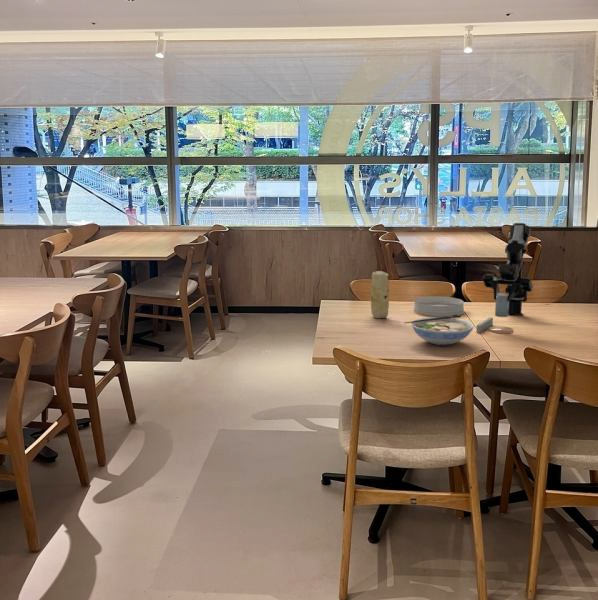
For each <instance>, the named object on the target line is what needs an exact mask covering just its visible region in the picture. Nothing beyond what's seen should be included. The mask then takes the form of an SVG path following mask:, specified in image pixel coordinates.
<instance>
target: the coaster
mask: <svg viewBox="0 0 598 600" xmlns="http://www.w3.org/2000/svg"><path fill="white" fill-rule="evenodd" d="M488 331H489V332H490V333H494V332H495V333H494V334H503V333H504V334H511V333H510V332H512V331H513V332H514V329H513V328H512V327H510V326H509V327H508V326H505V325H504V326H503V325H495V326H493V325H492V326H490V327H488ZM513 332H512V333H513Z"/></svg>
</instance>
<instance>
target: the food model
mask: <svg viewBox="0 0 598 600" xmlns="http://www.w3.org/2000/svg"><path fill="white" fill-rule="evenodd" d="M370 283H371V285H370V287H371V288H370V309H371V315H372V317H373V318H375V319H380V318H383V319H384V318H385V319H386V318H388V315H389V307H390V275H389V274H388V273H387V272H385V271H382V270H377V271H373V272H372V273H371V282H370Z"/></svg>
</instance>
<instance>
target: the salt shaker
mask: <svg viewBox="0 0 598 600" xmlns="http://www.w3.org/2000/svg"><path fill="white" fill-rule="evenodd" d="M508 296H509V293H505V291H503V292H500V291H499V293H497V295H496V300H495V311H494V316H495V317H498V318H507V317H509V315H508V311H509V301H508V300H507V299H508Z"/></svg>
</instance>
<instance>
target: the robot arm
mask: <svg viewBox="0 0 598 600" xmlns="http://www.w3.org/2000/svg"><path fill="white" fill-rule="evenodd" d="M530 235H531V227H530V226H529V225H527V224H526V223H525V222H515V223H513V224H512V225H510V227H509V237H510V239H509V240H508V241H507V242H508V243H507V244H506V245H505V248H504V253H506V259H507V260H506V263H499V264H498V265H499V266H498V271H497V272H498V273H499V274H498V275H499V278H498V277H496V276H495V275H494V274H488V273H486V274H484V275H483V277H482V281H483V284H484V286H485V287H486V288H488V289H489V288H491V289H492V290H493V301H494V300H495V301H496V295H497V293H499V292H500V290H501V288H500V286H499V285H503V286H506V287H505V289H504V292H505V293H509V296H508V299H507V300H508V301H509V311H508V316H525V314H524V313H523V312H522V310H523V308H522V307H523V303H525V302H527V301H528V293H529V292H532V290H533V282H532V280H531V278H530V277H522V272H523V263H524V262H523V261H524V255H526V253H527V252H528V247H527V246H526V245H528V242H529V238H530V237H531V236H530Z"/></svg>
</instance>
